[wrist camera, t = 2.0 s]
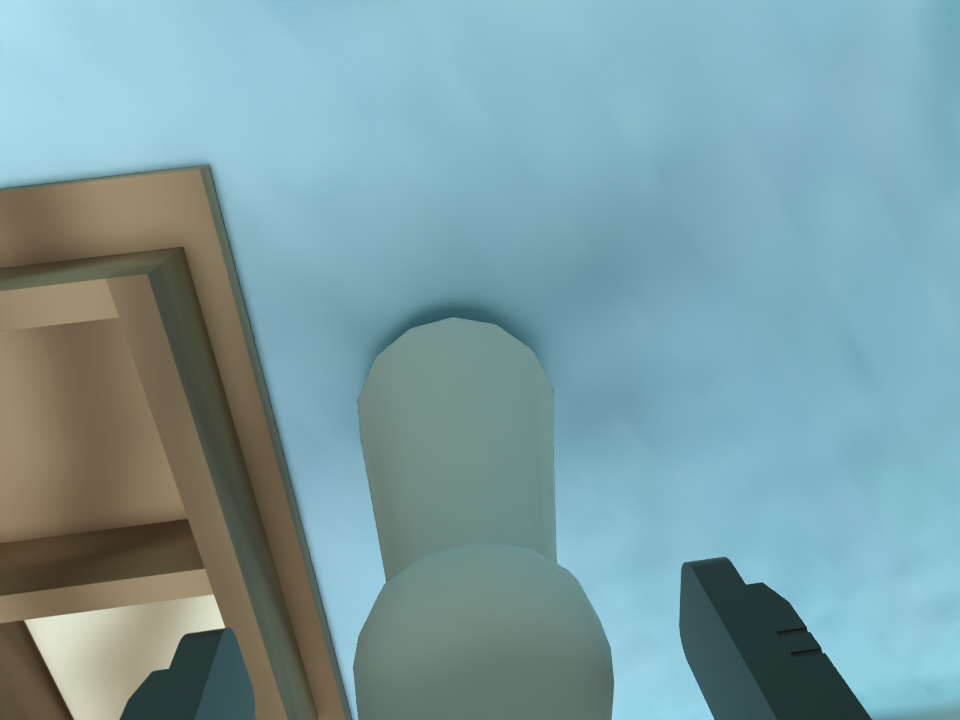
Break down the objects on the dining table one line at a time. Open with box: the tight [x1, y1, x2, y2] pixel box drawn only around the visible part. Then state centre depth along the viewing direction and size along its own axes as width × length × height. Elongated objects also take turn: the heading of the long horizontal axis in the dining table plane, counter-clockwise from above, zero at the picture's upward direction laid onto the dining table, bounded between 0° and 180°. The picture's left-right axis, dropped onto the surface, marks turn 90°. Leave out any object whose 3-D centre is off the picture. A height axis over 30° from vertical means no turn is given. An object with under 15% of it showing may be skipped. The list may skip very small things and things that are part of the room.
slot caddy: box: [0, 165, 352, 720], centre depth 22 cm, size 12×23×4 cm, turn 6°
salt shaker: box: [353, 317, 614, 720], centre depth 16 cm, size 6×6×13 cm
